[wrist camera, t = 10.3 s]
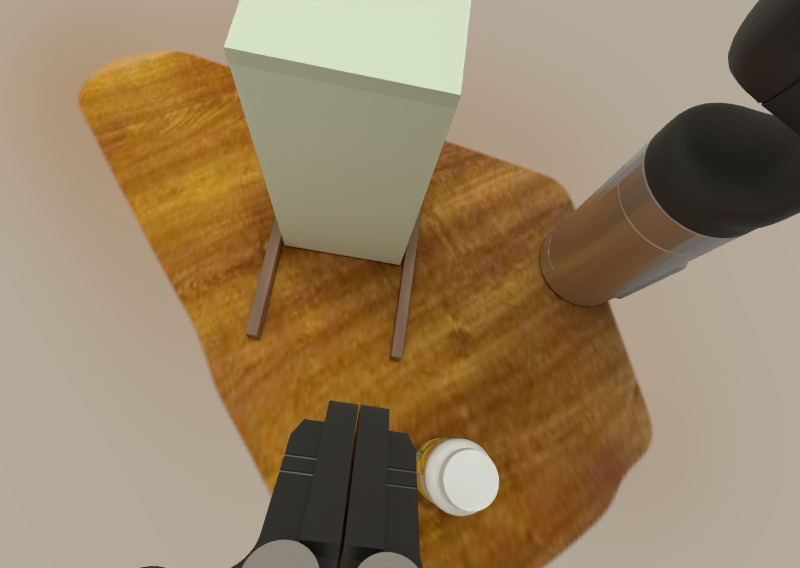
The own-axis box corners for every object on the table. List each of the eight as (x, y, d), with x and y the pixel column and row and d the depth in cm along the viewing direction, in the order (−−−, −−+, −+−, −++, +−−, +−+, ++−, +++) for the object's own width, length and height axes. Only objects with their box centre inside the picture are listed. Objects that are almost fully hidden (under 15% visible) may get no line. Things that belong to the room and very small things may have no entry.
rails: (425, 171, 49) (428, 160, 47) (400, 360, 42) (402, 357, 40) (296, 146, 48) (294, 135, 46) (248, 336, 41) (244, 332, 39)
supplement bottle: (427, 514, 38) (454, 540, 29) (400, 454, 39) (418, 461, 30) (480, 484, 39) (522, 499, 30) (453, 426, 41) (485, 425, 32)
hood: (412, 179, 48) (475, -45, 25) (400, 265, 45) (460, 95, 22) (305, 159, 47) (271, -92, 24) (284, 245, 44) (223, 47, 21)
